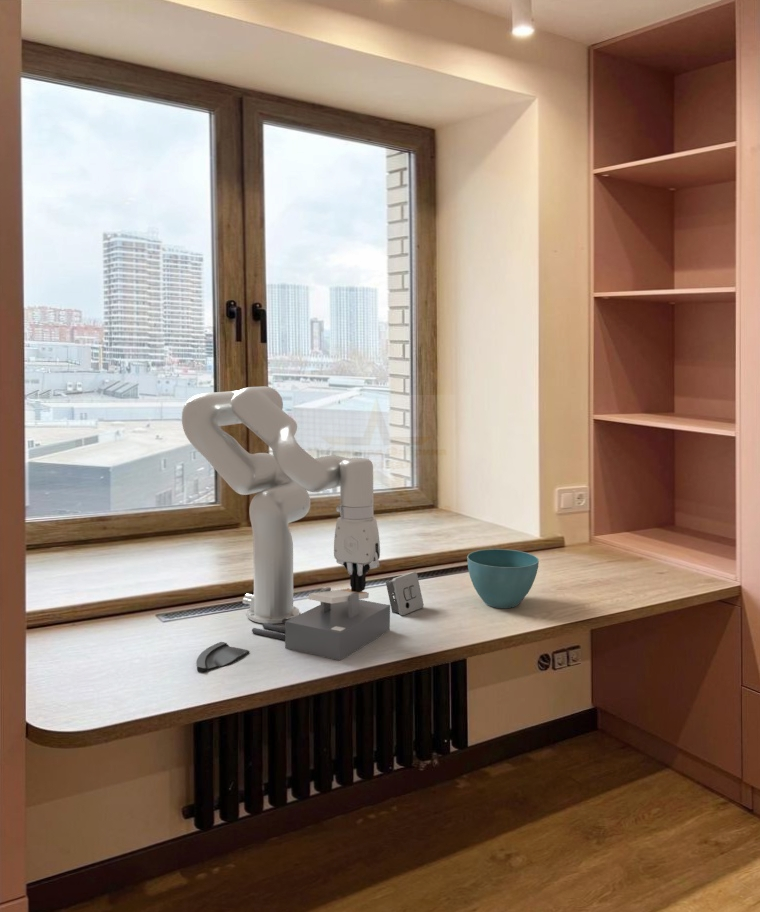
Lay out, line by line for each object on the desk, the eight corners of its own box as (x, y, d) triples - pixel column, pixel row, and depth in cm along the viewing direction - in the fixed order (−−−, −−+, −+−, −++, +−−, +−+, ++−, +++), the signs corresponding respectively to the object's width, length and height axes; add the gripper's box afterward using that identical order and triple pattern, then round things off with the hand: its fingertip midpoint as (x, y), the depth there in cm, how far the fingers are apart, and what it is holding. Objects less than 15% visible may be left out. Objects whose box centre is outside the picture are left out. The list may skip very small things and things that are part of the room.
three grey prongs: (250, 633, 187) (250, 628, 186) (277, 620, 195) (277, 616, 195) (294, 643, 181) (294, 638, 180) (319, 629, 189) (320, 624, 189)
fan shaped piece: (179, 669, 166) (178, 662, 166) (219, 648, 178) (219, 641, 178) (212, 677, 163) (212, 669, 162) (251, 655, 175) (251, 647, 175)
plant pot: (543, 615, 203) (545, 567, 201) (470, 614, 202) (471, 566, 201) (529, 593, 221) (531, 549, 219) (462, 592, 220) (463, 548, 219)
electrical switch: (402, 616, 200) (399, 579, 199) (385, 614, 203) (383, 577, 202) (424, 608, 207) (422, 572, 207) (408, 605, 210) (406, 570, 210)
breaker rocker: (308, 599, 177) (309, 593, 177) (346, 593, 191) (346, 588, 191) (331, 603, 174) (332, 597, 174) (368, 597, 188) (368, 592, 188)
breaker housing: (285, 648, 178) (285, 599, 176) (338, 619, 197) (339, 575, 195) (339, 660, 171) (340, 609, 170) (389, 630, 190) (390, 584, 189)
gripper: (320, 512, 186) (321, 590, 188) (378, 518, 179) (378, 599, 181) (337, 507, 193) (338, 582, 195) (393, 512, 186) (394, 590, 188)
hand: (358, 590), depth 188 cm, fingers closed
